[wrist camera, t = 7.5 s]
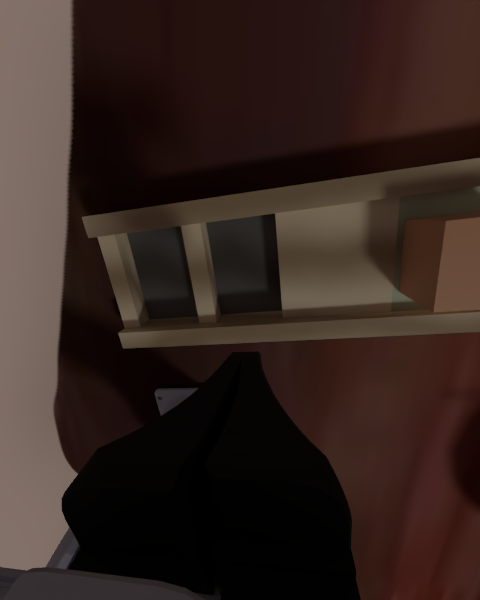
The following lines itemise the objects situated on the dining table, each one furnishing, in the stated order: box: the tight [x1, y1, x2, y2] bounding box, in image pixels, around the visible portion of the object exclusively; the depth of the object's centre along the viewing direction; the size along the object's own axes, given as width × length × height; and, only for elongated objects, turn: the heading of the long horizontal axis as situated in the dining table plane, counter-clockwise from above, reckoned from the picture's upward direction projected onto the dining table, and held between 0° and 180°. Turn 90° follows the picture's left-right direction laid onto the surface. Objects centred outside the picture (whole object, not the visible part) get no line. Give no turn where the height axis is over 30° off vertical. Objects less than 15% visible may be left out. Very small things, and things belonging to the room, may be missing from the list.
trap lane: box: [82, 158, 480, 349], centre depth 18 cm, size 11×30×3 cm, turn 97°
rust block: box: [399, 211, 480, 312], centre depth 14 cm, size 5×5×4 cm
